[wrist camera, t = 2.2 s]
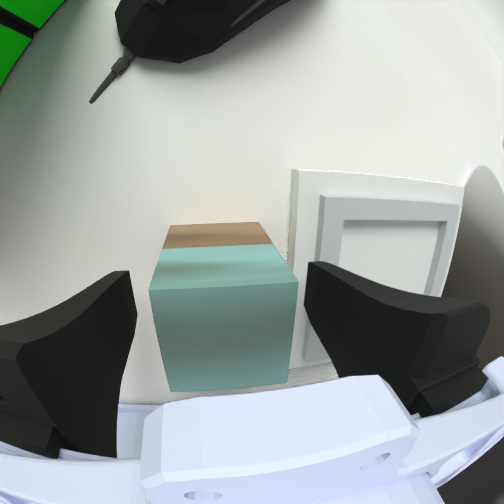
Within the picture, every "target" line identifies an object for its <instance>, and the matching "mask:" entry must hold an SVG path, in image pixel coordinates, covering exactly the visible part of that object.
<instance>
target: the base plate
mask: <svg viewBox="0 0 504 504" xmlns="http://www.w3.org/2000/svg"><path fill="white" fill-rule="evenodd" d="M464 189H465V187H461V186H458V185H455V184H449V183H443V182H437V181H430V180H423V179H416V178H408V177H400V176H391V175H382V174H372V173H360V172H348V171H333V170H316V169H292V190H291V211H290V229H289V246H288V261H287V265H288V266H289V268H290V269H291V271H292V272H293V274H294V275H295V277H296V278H297V280H298V281H299V285H298V295H297V304H296V314H295V322H294V331H293V339H292V347H291V355H290V363H289V369H295V368H302V367H308V366H314V365H320V364H325V363H330V362H332V361H331V359H330V357H329V355H328V354H327V352H326V350H325V348H324V347H323V345H322V343H321V341H320V340H319V338H318V336H317V334H316V333H315V331H314V329H313V327H312V325H311V324H310V321H309V319H308V316H307V313H306V311H305V308H304V305H303V304H304V296H305V287H306V278H307V268H308V262H314V261H324V262H328V263H331V264H333V265H336V266H338V267H341V268H343V269H345V270H348V271H350V272H352V273H355V274H357V275H359V276H362V277H364V278H367V279H369V280H372V281H375V282H377V283H380V284H383V285H386V286H389V287H392V288H396V289H399V290H403V291H407V292H412V293H417V294H422V295H428V296H435V297H441V294H442V291H443V288H444V284H445V281H446V277H447V274H448V270H449V266H450V262H451V258H452V254H453V250H454V245H455V241H456V237H457V231H458V226H459V221H460V216H461V209H462V203H463V196H464Z"/></svg>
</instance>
